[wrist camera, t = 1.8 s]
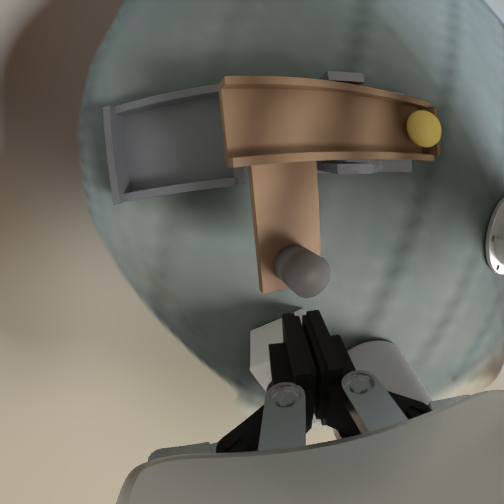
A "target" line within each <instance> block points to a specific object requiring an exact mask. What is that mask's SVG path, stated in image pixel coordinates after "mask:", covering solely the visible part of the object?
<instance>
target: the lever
mask: <svg viewBox="0 0 504 504" xmlns="http://www.w3.org/2000/svg"><path fill="white" fill-rule="evenodd" d="M218 89H219V99H220V110H221V120H222V130H223V139H224V149H225V158H226V168H235V167H244V166H248V174H249V184H250V194H251V204H252V214H253V224H254V235H255V245H256V255H257V266H258V276H259V286H260V291H261V292H262V293H263V294H267V293H271V292H275V291H279V290H283V289H287V288H290V289H291V290H292V291H293V292H295V293H296V294H297V295H298V296H300V297H303V298H310V297H313V296H316V295H317V294H319V293H320V292H321V291H322V290H323V289H324V288H325V287H326V285H327V283H328V281H329V278H330V267H329V264H328V262H327V261H326V260H325V259H324V258H322V257H320V219H319V196H318V179H317V164H316V161H321V160H350V159H398V160H426V161H435V155H441V148H440V140H439V141H438V143H437V144H435V145H434V146H432V147H421V146H419V145H417V144H415V143H414V142H413V141H412V140H411V139H410V137H409V135H408V133H407V129H406V124H407V120H408V118H409V116H410V115H411V114H412V113H413V112H415V111H418V110H425V111H428V112H430V113H432V114H433V115H434V116H436V118H437V119H438V113H437V107H431V106H430V102H428V101H424V100H421V99H417V98H414V97H410V96H406V95H402V94H399V93H394V92H390V91H386V90H381V89H377V88H372V87H366V86H361V85H355V84H349V83H343V82H336V81H328V80H320V79H310V78H299V77H283V76H224V77H223V79H222V80H221V81H220V83H219V84H218Z"/></svg>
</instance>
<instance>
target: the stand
mask: <svg viewBox="0 0 504 504" xmlns="http://www.w3.org/2000/svg"><path fill="white" fill-rule="evenodd" d="M320 80H328V81H336V82H343V83H349V84H355V85H361V84H363V83H364V82H365V80H364V74H363V73H355V72H341V71H327V72H326V73H325V74H324V75H323V76H322V77H321V78H320ZM390 92H392V91H390ZM394 93H399V94H402V95H406V93H400V92H394ZM316 164H317V174H323V173H334V174H373V172H412V160H398V159H350V160H321V161H316Z"/></svg>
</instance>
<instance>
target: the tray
mask: <svg viewBox="0 0 504 504" xmlns="http://www.w3.org/2000/svg"><path fill="white" fill-rule="evenodd" d="M103 121H104V135H105V145H106V155H107V164H108V171H109V179H110V186H111V192H112V198H113V204H114V205H115V204H120V203H123V202H126V201H132V200H137V199H143V198H149V197H156V196H162V195H169V194H175V193H182V192H190V191H197V190H205V189H213V188H222V187H231V186H236V184H241V183H245V181H244V171H243V167H235V168H226V158H225V149H224V139H223V130H222V120H221V110H220V99H219V89H218V84H212V85H205V86H199V87H193V88H188V89H182V90H177V91H172V92H168V93H163V94H159V95H155V96H150V97H146V98H143V99H139V100H135V101H131V102H128V103H124V104H121V105H118V106H111V105H109V106H106V107H103Z"/></svg>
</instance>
